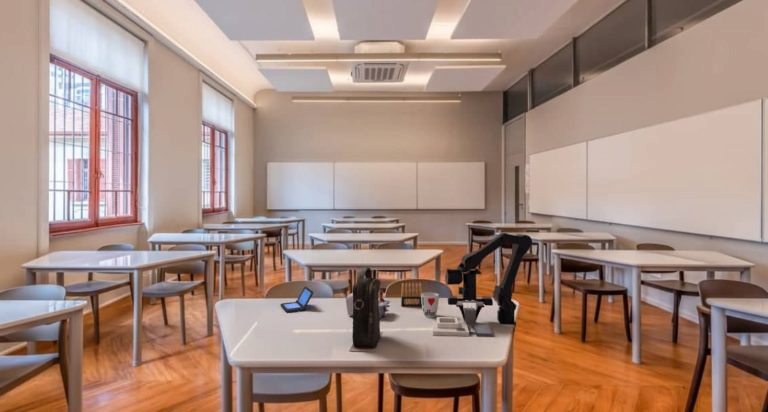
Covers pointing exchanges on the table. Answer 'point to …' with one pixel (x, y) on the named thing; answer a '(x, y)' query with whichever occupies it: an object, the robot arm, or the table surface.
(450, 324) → the outlet plate
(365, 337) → the shoulder bag
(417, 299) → the ammunition clip
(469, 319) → the charger block
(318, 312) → the table surface
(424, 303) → the cup
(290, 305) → the handheld game console
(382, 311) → the cell model
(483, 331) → the phone
